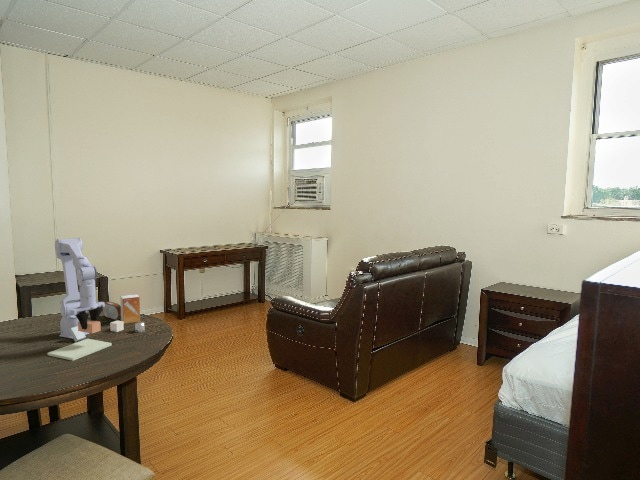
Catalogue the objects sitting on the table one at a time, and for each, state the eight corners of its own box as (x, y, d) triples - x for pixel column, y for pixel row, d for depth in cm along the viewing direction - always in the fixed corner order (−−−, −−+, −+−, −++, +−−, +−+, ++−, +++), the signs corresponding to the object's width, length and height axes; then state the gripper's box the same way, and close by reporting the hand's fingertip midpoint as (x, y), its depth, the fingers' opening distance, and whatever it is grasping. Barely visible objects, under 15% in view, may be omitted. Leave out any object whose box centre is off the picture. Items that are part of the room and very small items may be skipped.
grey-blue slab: (68, 330, 180) (70, 328, 179) (77, 327, 183) (79, 325, 183) (75, 342, 179) (77, 339, 178) (83, 339, 182) (86, 336, 182)
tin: (123, 320, 211) (123, 304, 210) (118, 321, 208) (117, 305, 207) (107, 315, 219) (106, 299, 218) (101, 316, 216) (100, 301, 215)
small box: (123, 324, 204) (122, 298, 203) (120, 321, 209) (120, 295, 208) (140, 321, 209) (139, 296, 207) (138, 318, 214) (137, 293, 213)
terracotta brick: (78, 330, 172) (77, 322, 172) (86, 328, 176) (86, 319, 175) (92, 333, 169) (92, 324, 169) (100, 330, 173) (100, 321, 173)
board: (47, 355, 164) (47, 352, 164) (87, 340, 180) (87, 338, 180) (73, 360, 159) (73, 358, 159) (111, 345, 176) (111, 343, 175)
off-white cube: (110, 331, 194) (110, 322, 194) (117, 328, 198) (117, 320, 197) (116, 332, 193) (116, 323, 192) (123, 329, 196) (123, 321, 196)
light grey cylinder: (133, 332, 193) (133, 323, 193) (140, 329, 197) (139, 321, 196) (140, 333, 192) (140, 324, 191) (146, 330, 195) (146, 322, 195)
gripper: (79, 300, 163) (80, 333, 164) (109, 292, 176) (110, 323, 178) (66, 298, 165) (67, 331, 167) (97, 291, 179) (98, 321, 180)
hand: (89, 327), depth 172 cm, fingers closed on terracotta brick, 4 cm apart
